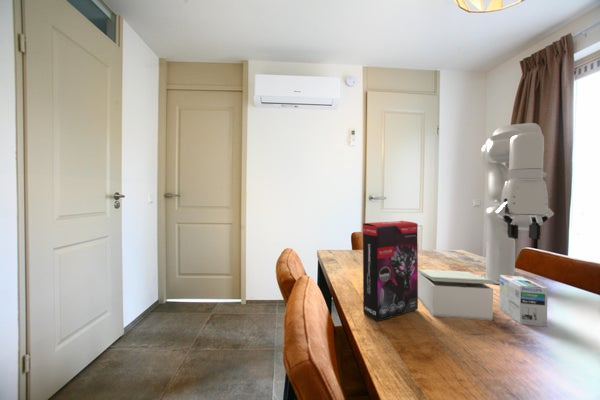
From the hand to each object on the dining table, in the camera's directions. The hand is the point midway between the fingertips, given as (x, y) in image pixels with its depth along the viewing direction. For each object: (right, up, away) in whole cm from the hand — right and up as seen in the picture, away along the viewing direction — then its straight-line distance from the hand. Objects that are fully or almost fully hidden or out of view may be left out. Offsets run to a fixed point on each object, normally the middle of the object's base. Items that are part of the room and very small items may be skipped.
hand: (523, 237), depth 75 cm
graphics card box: (-38, -23, +3) cm, 45 cm away
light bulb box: (0, -24, 0) cm, 24 cm away
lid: (-18, -13, +6) cm, 23 cm away
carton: (-18, -23, +6) cm, 30 cm away
